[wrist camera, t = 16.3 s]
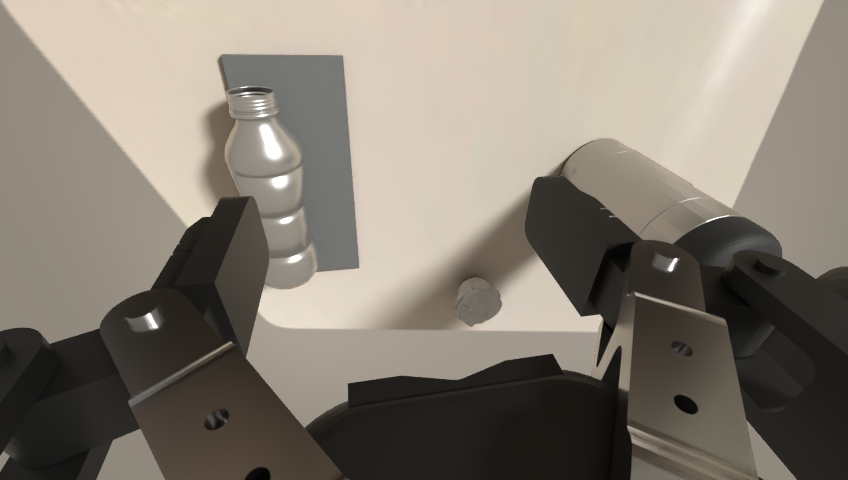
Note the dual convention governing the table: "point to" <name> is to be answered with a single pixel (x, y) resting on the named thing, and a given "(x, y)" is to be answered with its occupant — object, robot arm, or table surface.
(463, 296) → the grey cupcake
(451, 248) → the table surface
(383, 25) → the table surface
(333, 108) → the charcoal rubber mat
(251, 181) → the plastic bottle
